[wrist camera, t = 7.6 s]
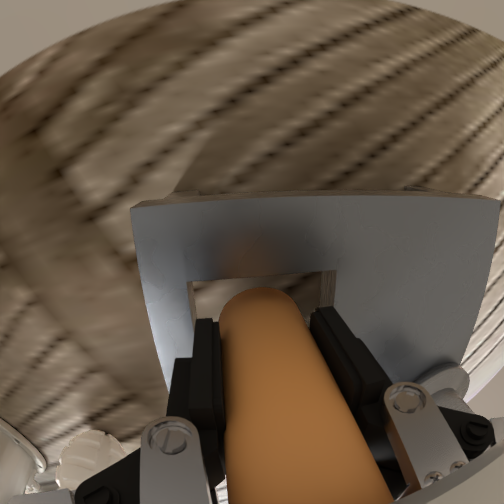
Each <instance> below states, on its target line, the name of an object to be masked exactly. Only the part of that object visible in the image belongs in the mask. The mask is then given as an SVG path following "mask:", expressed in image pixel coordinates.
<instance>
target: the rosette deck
mask: <svg viewBox="0 0 504 504" xmlns="http://www.w3.org/2000/svg"><path fill="white" fill-rule="evenodd" d="M500 202H501V201H500V200H496V199H493V198H489V197H485V196H482V195H473V194H459V193H446V192H442V191H438V190H434V189H429V188H425V187H418V186H405V191H394V190H303V191H272V192H250V193H232V194H217V195H203V196H200V194H199V190H192V191H180V192H172V193H171V194H169V195H168V196H167V197H165V198H164V199H158V200H148V201H142V202H140V203H138V204H137V205H135V206H133V207H132V208H130V212H131V220H132V228H133V235H134V242H135V248H136V255H137V261H138V267H139V272H140V278H141V283H142V288H143V293H144V298H145V303H146V308H147V312H148V317H149V321H150V325H151V330H152V334H153V338H154V342H155V346H156V350H157V353H158V357H159V361H160V364H161V368H162V371H163V375H164V378H165V382H166V385H167V388H168V392H170V386H171V379H172V373H173V366H174V361H175V359H176V358H186V357H192V352H193V341H194V331H195V322H196V319H197V314H196V307H195V300H194V292H193V285H192V281H205V280H219V279H233V278H246V277H259V276H271V275H283V274H294V273H305V272H316V271H322V277H321V293H320V307H328V306H333V307H334V308H335V309H336V311H337V312H338V313H339V315H340V316H341V317H342V319H343V320H344V322H345V323H346V324H347V326H348V327H349V328H350V330H351V331H352V333H353V334H354V335H355V337H356V338H360V339H361V340H362V341H363V342H364V344H365V345H366V346H367V348H368V349H369V351H370V352H371V353H372V355H373V356H374V357H375V359H376V360H377V362H378V363H379V364H380V366H381V367H382V369H383V370H384V371H385V373H386V374H387V376H388V377H389V378H390V380H391V381H392V383H393V384H396V383H398V382H413V383H416V384H419V385H421V386H422V387H424V388H425V389H426V390H427V391H428V392H429V394H430V395H431V397H432V399H433V400H434V402H435V404H436V405H437V406H441V407H445V408H449V409H453V410H458V411H462V412H467V413H471V414H474V412H473V411H472V410H471V409H470V408H469V406H468V405H467V404H466V403H465V402H464V400H463V398H464V396H465V394H466V392H467V390H468V387H469V382H470V379H469V375H468V374H467V372H466V371H465V370H464V369H463V368H462V367H461V366H460V363H461V361H462V358H463V356H464V353H465V351H466V348H467V345H468V343H469V340H470V337H471V334H472V332H473V329H474V326H475V323H476V320H477V316H478V313H479V310H480V307H481V303H482V300H483V296H484V292H485V289H486V285H487V281H488V276H489V272H490V267H491V263H492V258H493V253H494V247H495V241H496V235H497V228H498V220H499V212H500Z"/></svg>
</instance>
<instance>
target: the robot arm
mask: <svg viewBox="0 0 504 504" xmlns="http://www.w3.org/2000/svg"><path fill="white" fill-rule="evenodd" d="M310 332H311V334H312V336H313V338H314V340H315V342H316V344H317V346H318V348H319V350H320V352H321V354H322V356H323V357H324V359H325V361H326V363H327V365H328V367H329V369H330V371H331V373H332V375H333V377H334V379H335V381H336V383H337V385H338V387H339V389H340V391H341V393H342V395H343V397H344V399H345V401H346V403H347V405H348V407H349V409H350V411H351V413H352V415H353V417H354V419H355V421H356V423H357V425H358V427H359V429H360V431H361V433H362V435H363V437H364V439H365V441H366V443H367V445H368V447H369V449H370V451H371V453H372V456H373V458H374V460H375V462H376V464H377V466H378V468H379V470H380V472H381V474H382V476H383V478H384V480H385V482H386V484H387V487H388V489H389V491H390V493H391V495H392V497H393V499H394V502H392V503H389V504H504V417H500V418H491V419H490V421H489V420H487V419H486V418H484V417H483V416H480V415H476V414H471V413H467V412H462V411H458V410H453V409H449V408H445V407H441V406H437V405H436V404H435V402H434V400H433V399H432V397H431V395H430V394H429V392H428V391H427V390H426V389H425V388H424V387H422V386H421V385H419V384H416V383H413V382H398V383H396V384H393V383H392V381H391V380H390V378H389V377H388V376H387V374H386V373H385V371H384V370H383V369H382V367H381V366H380V364H379V363H378V362H377V360H376V359H375V357H374V356H373V355H372V353H371V352H370V351H369V349H368V348H367V346H366V345H365V344H364V342H363V341H362V340H361V339H360V338H356V337H355V335H354V334H353V333H352V331H351V330H350V328H349V327H348V326H347V324H346V323H345V322H344V320H343V319H342V317H341V316H340V315H339V313H338V312H337V311H336V309H335V308H334V307H333V306H328V307H320V308H317V309H316V312H313V313H311V318H310ZM225 430H226V423H225V408H224V391H223V372H222V351H221V335H220V326H219V322H213V319H212V318H205V319H196V322H195V331H194V341H193V352H192V357H186V358H176V359H175V361H174V366H173V373H172V379H171V386H170V392H169V399H168V406H167V413H166V417H162V418H159V419H157V420H154V421H152V422H151V423H150V424H149V425H147V426H146V428H145V429H144V431H143V433H142V437H141V447H140V448H139V449H137V450H136V451H134V452H133V453H131V454H129V455H128V456H126V457H124V458H123V459H121V460H119V461H118V462H116V463H114V464H113V465H111V466H109V467H108V468H106V469H104V470H102V471H101V472H99V473H97V474H95V475H93V476H92V477H90V478H88V479H86V480H85V481H83V482H82V483H81V484H80V485H79V486H78V487H77V489H76V490H72V491H71V490H69V489H68V488H65V489H59V490H53V491H47V492H39V493H31V494H24V493H25V490H27V491H32V490H33V489H35V490H36V491H39V490H40V489H41V486H40V485H39V484H38V483H37V482H36V481H35V480H34V477H35V475H36V473H43V472H44V471H45V469H46V462H45V459H44V458H43V456H42V455H41V453H40V452H39V451H38V450H37V449H36V448H35V447H34V446H33V445H32V444H31V443H30V442H29V441H28V440H27V439H26V438H25V437H24V436H22V435H21V434H20V433H19V432H18V431H17V430H15V429H14V428H13V427H11V426H10V425H9V424H8V423H6V422H5V421H3V420H2V419H1V418H0V504H219V499H218V494H217V489H216V486H217V485H218V484H220V483H221V482H222V481H223V480H224V479H225V475H226V467H225V453H224V438H223V437H224V432H225Z"/></svg>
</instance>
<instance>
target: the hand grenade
mask: <svg viewBox="0 0 504 504" xmlns="http://www.w3.org/2000/svg"><path fill="white" fill-rule="evenodd" d="M69 445H70V446H69V447H65V448H64V449H63V451H62V453H61V455H60V457H59V462H60V464H61V465H60V466H59V465H58V466H57V468H56V474H55V480H56V482H57V484H58V486H59V487H60V488H58V489H57V490H59V489H65V488H68V489H69V490H71V491H72V490H76V489H77V487H78V486H79V485H80V484H81V483H82V482H83V481H85V480H86V479H88V478H90V477H92V476H93V475H95V474H97V473H99V472H101V471H102V470H104V469H106V468H108V467H109V466H111V465H113V464H114V463H116V462H118V461H119V460H121V459H123V458H124V457H126V456H127V454H126V452H125V451H124V449H123V448H122V445H121V444H120V442H119V441H118V440H117V439H116V438H115V437H113V436H112V435H110V434H107V435H105V432H104V431H101V430H88V432H83V433H81V434H80V435H77V436H76V437H74V438H73V439H72V440H70V443H69Z"/></svg>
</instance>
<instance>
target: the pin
mask: <svg viewBox="0 0 504 504" xmlns="http://www.w3.org/2000/svg"><path fill="white" fill-rule="evenodd" d="M219 326H220V335H221V351H222V372H223V391H224V408H225V423H226V430H225V432H224V437H223V438H224V453H225V467H226V480H227V492H228V503H229V504H389V503H392V502H394V499H393V497H392V495H391V493H390V491H389V489H388V487H387V484H386V482H385V480H384V478H383V476H382V474H381V472H380V470H379V468H378V466H377V464H376V462H375V460H374V458H373V456H372V453H371V451H370V449H369V447H368V445H367V443H366V441H365V439H364V437H363V435H362V433H361V431H360V429H359V427H358V425H357V423H356V421H355V419H354V417H353V415H352V413H351V411H350V409H349V407H348V405H347V403H346V401H345V399H344V397H343V395H342V393H341V391H340V389H339V387H338V385H337V383H336V381H335V379H334V377H333V375H332V373H331V371H330V369H329V367H328V365H327V363H326V361H325V359H324V357H323V356H322V354H321V352H320V350H319V348H318V346H317V344H316V342H315V340H314V338H313V336H312V334H311V332H310V330H309V328H308V326H307V324H306V322H305V321H304V319H303V317H302V315H301V313H300V311H299V309H298V307H297V305H296V303H295V302H294V301H293V299H292V298H291V297H290V296H288V295H287V294H285V293H284V292H282V291H280V290H277V289H273V288H267V287H258V288H252V289H248V290H245V291H243V292H241V293H239V294H237V295H236V296H234V297H233V298H232V299H231V300H229V301H228V303H227V304H226V305H225V306H224V308H223V310H222V312H221V314H220V317H219Z"/></svg>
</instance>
